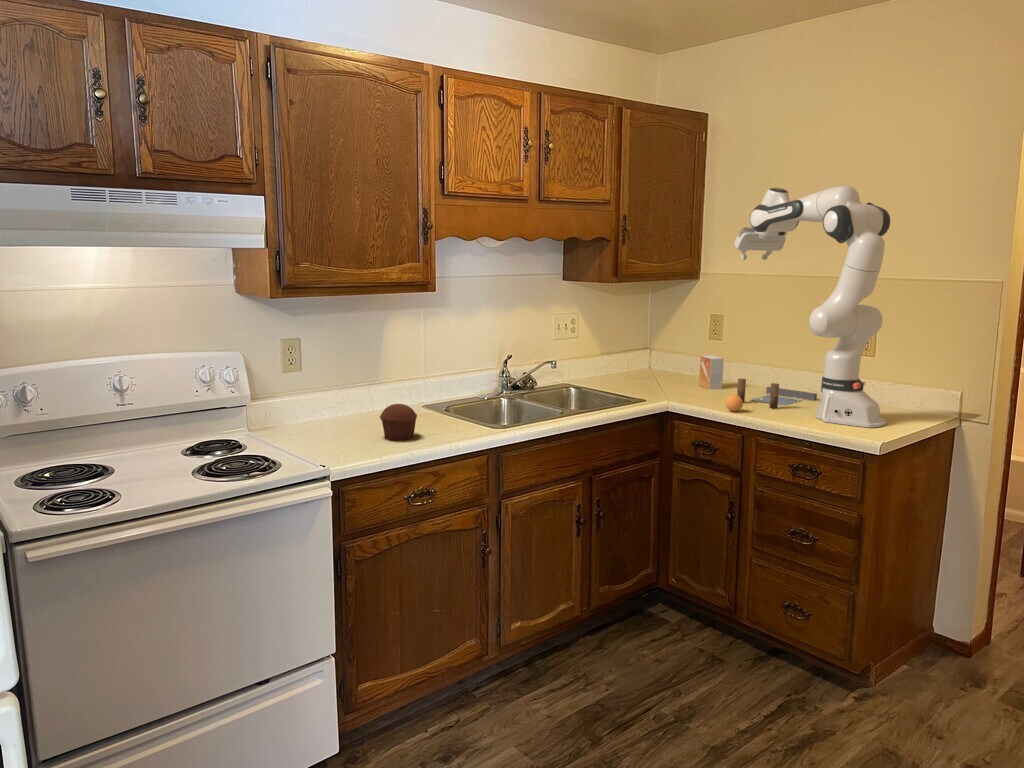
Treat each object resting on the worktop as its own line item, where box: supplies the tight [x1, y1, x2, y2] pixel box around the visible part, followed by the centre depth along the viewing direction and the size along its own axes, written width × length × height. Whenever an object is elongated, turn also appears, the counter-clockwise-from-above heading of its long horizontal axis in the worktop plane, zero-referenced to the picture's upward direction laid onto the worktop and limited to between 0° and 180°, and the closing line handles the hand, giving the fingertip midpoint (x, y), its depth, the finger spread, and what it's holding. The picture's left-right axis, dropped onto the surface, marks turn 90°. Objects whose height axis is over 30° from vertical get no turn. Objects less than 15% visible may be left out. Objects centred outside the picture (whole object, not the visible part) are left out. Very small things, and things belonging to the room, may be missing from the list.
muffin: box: [379, 403, 418, 442], centre depth 236 cm, size 12×11×10 cm
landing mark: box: [749, 394, 803, 406], centre depth 298 cm, size 14×14×1 cm
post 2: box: [768, 382, 780, 410], centre depth 283 cm, size 3×3×9 cm
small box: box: [698, 355, 724, 390], centre depth 323 cm, size 8×6×13 cm
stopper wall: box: [765, 386, 818, 401], centre depth 305 cm, size 20×2×2 cm, turn 43°
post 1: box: [736, 378, 747, 404], centre depth 292 cm, size 3×3×9 cm
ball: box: [724, 394, 744, 413], centre depth 277 cm, size 6×6×6 cm
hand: (753, 259), depth 311 cm, fingers open, 8 cm apart
